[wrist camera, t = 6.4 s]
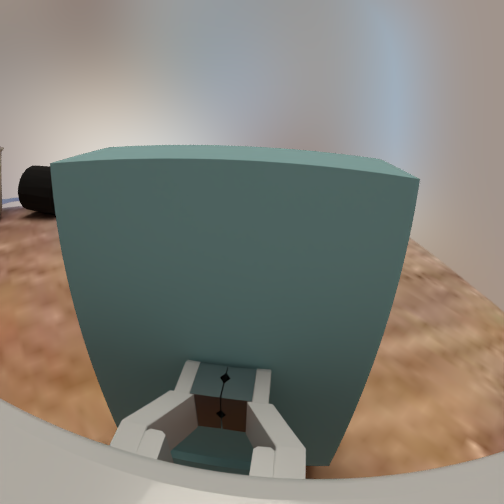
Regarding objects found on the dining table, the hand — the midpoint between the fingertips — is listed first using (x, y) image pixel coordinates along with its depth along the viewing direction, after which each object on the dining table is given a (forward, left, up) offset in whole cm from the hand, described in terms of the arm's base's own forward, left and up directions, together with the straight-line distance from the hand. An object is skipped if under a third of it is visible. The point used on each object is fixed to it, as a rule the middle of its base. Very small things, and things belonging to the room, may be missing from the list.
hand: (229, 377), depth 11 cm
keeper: (+1, +2, -8) cm, 9 cm away
